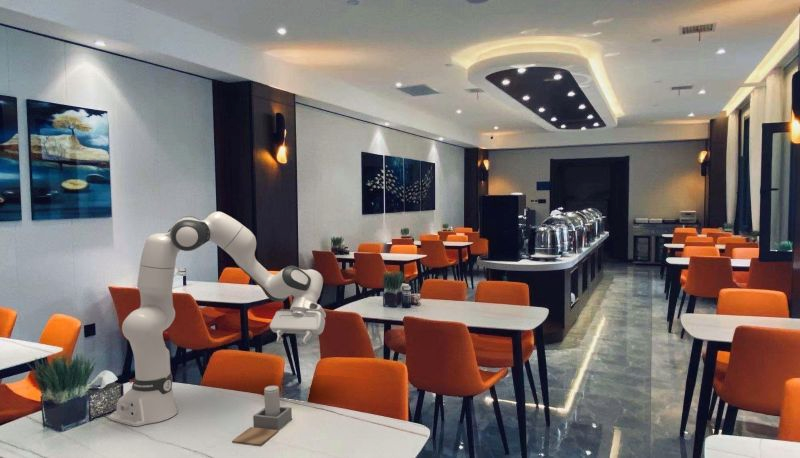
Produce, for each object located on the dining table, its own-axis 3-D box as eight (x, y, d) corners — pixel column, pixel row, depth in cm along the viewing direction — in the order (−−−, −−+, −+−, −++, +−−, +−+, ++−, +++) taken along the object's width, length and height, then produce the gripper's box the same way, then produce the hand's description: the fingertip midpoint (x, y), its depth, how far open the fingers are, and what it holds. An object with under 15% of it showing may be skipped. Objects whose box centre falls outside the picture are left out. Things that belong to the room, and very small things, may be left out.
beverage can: (276, 427, 174) (275, 390, 173) (263, 426, 175) (261, 390, 174) (282, 420, 178) (281, 385, 178) (269, 420, 179) (268, 385, 179)
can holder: (253, 427, 174) (253, 415, 173) (268, 416, 182) (267, 405, 182) (278, 430, 171) (277, 418, 171) (291, 419, 180) (291, 407, 179)
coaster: (232, 442, 163) (232, 440, 163) (250, 428, 173) (250, 427, 173) (260, 446, 160) (260, 444, 160) (278, 432, 170) (277, 430, 170)
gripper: (274, 304, 198) (261, 337, 189) (324, 305, 192) (313, 339, 183) (280, 313, 202) (268, 346, 194) (330, 315, 196) (319, 348, 188)
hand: (290, 342), depth 188 cm, fingers open, 8 cm apart
